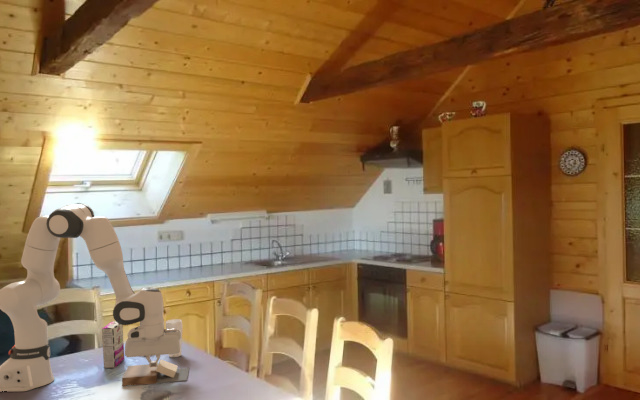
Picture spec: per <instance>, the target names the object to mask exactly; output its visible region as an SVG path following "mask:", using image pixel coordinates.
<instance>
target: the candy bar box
mask: <svg viewBox="0 0 640 400" xmlns="http://www.w3.org/2000/svg"><path fill="white" fill-rule="evenodd" d="M123 327H124V325H121V324H119V323H117V322H116V321H115V320H114V321H111V322H109V323H108V324H106V325H105V326H104V327H102V328H101V336H102V354H103V368H104V369H115V368H117V367H118V366H119V365H120V364H121V363H122V362H123V361H124V360H125V346H124V344H125V343H124V328H123Z"/></svg>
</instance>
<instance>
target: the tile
mask: <svg viewBox="0 0 640 400" xmlns="http://www.w3.org/2000/svg"><path fill="white" fill-rule="evenodd" d="M178 367H179V366H178V365H176V364H174V363H171V362H169V361H166V360H164V359H159V361H158V367H157V369H156V371H157V372H159V373H162V374H165V375H167V376H170V377H172V378H174V375H175V373H176V371H177V369H178Z"/></svg>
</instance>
